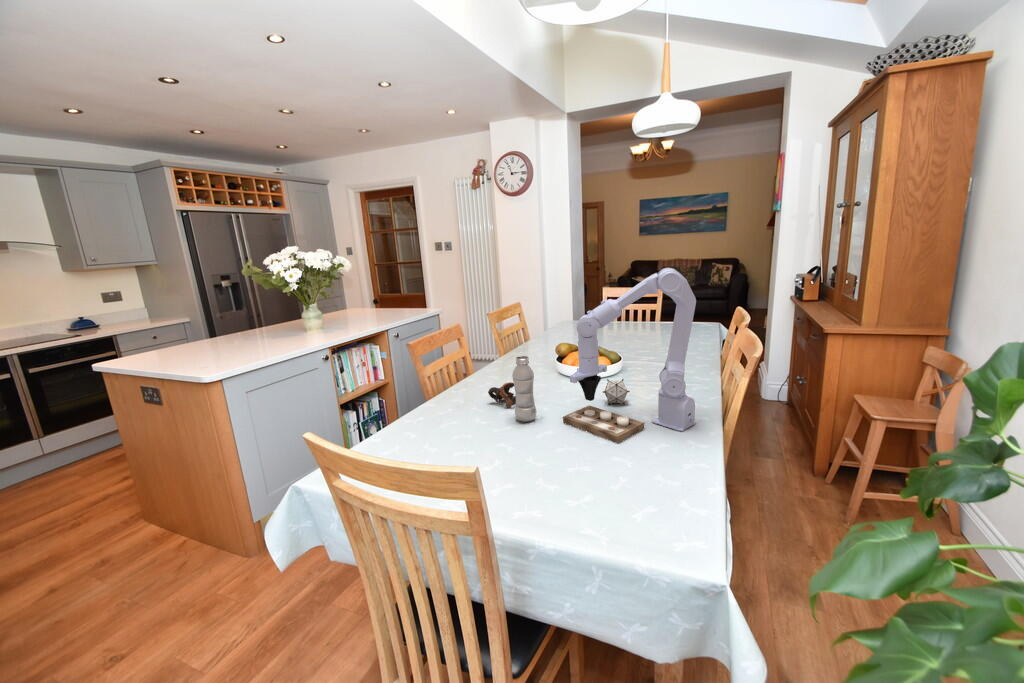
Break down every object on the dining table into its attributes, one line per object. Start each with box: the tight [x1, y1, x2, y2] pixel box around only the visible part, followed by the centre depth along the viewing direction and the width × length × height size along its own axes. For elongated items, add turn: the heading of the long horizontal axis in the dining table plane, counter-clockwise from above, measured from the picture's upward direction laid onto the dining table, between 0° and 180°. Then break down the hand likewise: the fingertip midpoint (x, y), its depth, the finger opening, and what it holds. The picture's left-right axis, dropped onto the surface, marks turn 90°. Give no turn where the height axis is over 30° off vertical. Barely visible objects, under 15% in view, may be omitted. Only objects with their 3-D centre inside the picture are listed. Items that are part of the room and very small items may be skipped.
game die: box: [602, 378, 631, 406], centre depth 143 cm, size 9×8×10 cm
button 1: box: [584, 410, 595, 416], centre depth 132 cm, size 3×3×2 cm
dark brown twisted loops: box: [488, 382, 516, 409], centre depth 149 cm, size 12×10×8 cm
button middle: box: [600, 410, 612, 422], centre depth 128 cm, size 3×3×2 cm
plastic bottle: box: [511, 355, 538, 423], centre depth 133 cm, size 6×7×20 cm
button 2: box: [617, 416, 629, 428], centre depth 123 cm, size 3×3×2 cm
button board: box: [562, 404, 645, 444], centre depth 127 cm, size 20×12×2 cm, turn 40°
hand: (589, 399), depth 131 cm, fingers closed
